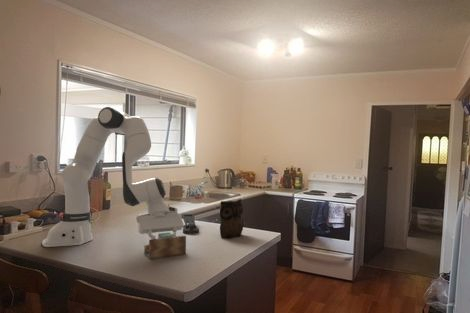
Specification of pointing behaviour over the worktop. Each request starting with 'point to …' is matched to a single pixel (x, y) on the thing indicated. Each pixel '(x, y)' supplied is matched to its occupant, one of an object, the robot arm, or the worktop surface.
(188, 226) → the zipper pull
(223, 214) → the owl
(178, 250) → the board
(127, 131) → the robot arm
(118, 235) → the worktop surface
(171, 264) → the worktop surface
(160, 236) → the cabinet block
